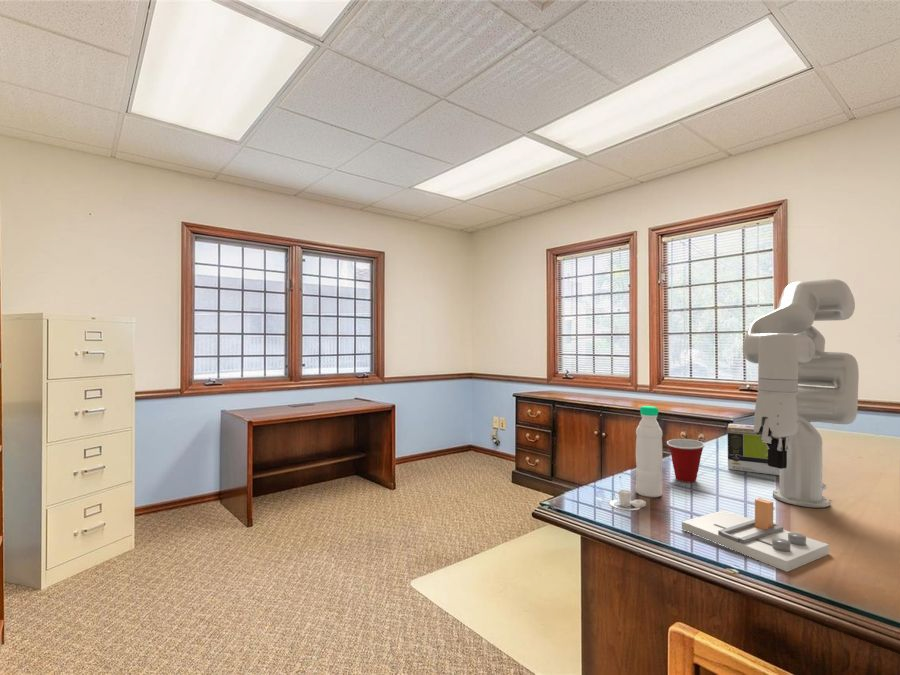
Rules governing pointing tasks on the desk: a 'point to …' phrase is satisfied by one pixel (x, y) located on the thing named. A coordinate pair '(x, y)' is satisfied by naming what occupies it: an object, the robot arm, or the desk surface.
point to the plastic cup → (685, 458)
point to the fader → (763, 513)
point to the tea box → (747, 450)
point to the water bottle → (649, 454)
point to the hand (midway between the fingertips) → (777, 466)
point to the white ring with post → (627, 500)
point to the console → (757, 540)
